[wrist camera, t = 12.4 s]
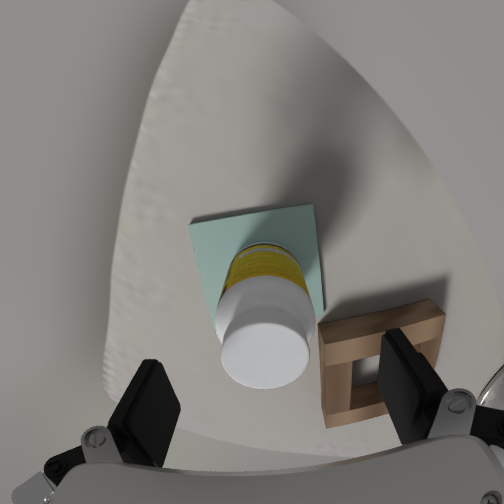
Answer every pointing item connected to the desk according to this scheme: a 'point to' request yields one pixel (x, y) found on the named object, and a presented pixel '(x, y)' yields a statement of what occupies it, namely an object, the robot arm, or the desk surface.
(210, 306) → the coaster plate
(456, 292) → the desk surface
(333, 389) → the can holder
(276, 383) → the supplement bottle
